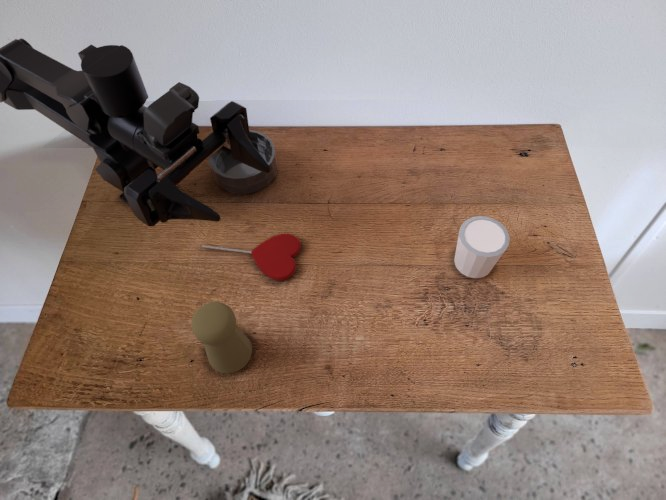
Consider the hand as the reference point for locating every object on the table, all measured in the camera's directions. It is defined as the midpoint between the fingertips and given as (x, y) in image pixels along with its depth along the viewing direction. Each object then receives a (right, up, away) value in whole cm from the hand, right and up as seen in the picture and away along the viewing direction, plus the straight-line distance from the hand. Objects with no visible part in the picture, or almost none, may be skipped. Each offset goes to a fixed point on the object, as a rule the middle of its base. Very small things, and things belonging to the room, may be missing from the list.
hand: (245, 193), depth 58 cm
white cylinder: (+31, -9, +14) cm, 36 cm away
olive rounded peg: (-3, -21, +7) cm, 22 cm away
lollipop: (-2, -7, +16) cm, 18 cm away
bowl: (-4, +7, +25) cm, 26 cm away
